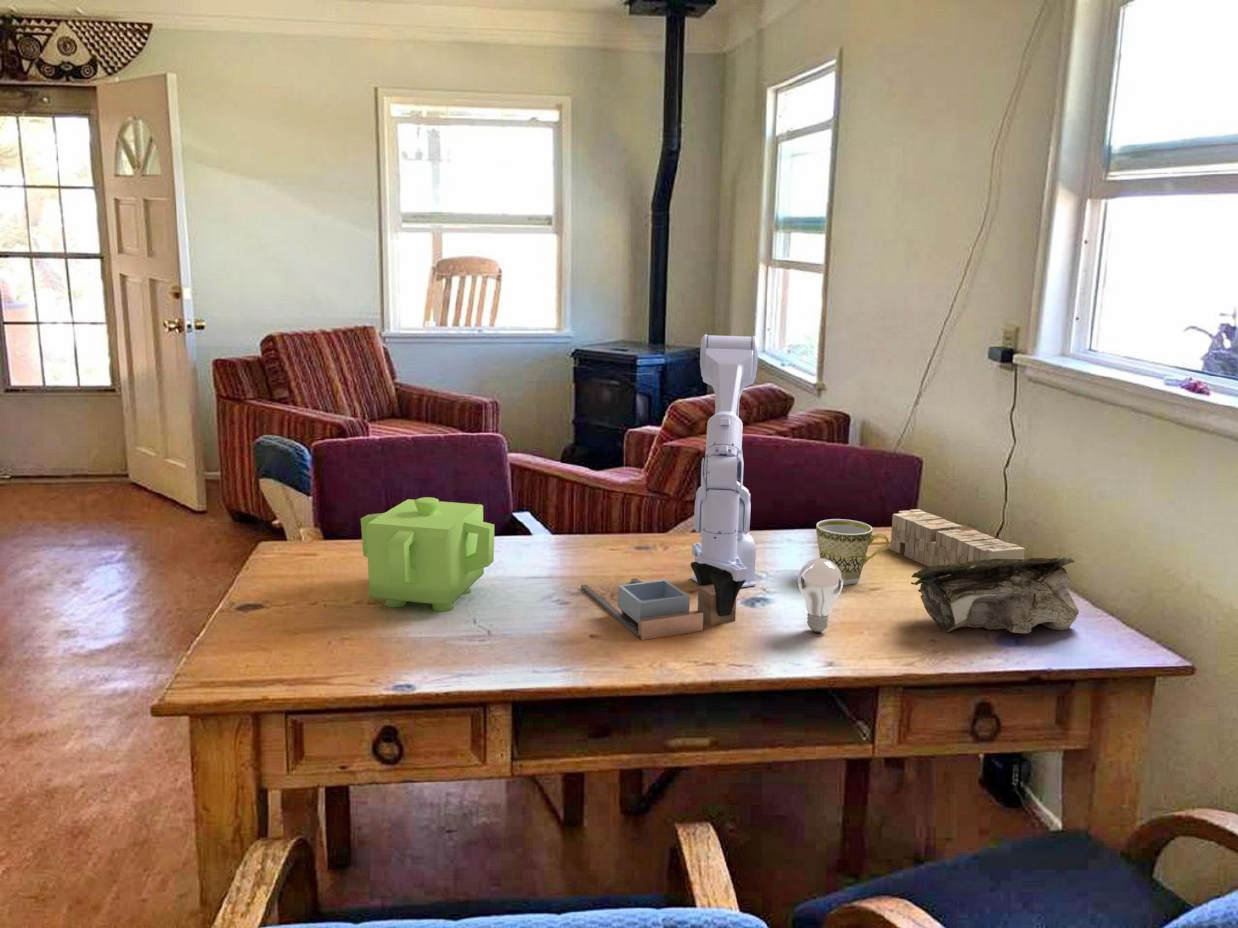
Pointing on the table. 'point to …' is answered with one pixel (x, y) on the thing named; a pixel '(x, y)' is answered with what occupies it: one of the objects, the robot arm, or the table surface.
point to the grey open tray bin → (651, 599)
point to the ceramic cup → (846, 545)
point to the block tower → (944, 541)
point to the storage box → (426, 551)
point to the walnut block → (712, 606)
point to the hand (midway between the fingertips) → (716, 609)
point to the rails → (654, 620)
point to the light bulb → (819, 590)
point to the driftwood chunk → (999, 594)
